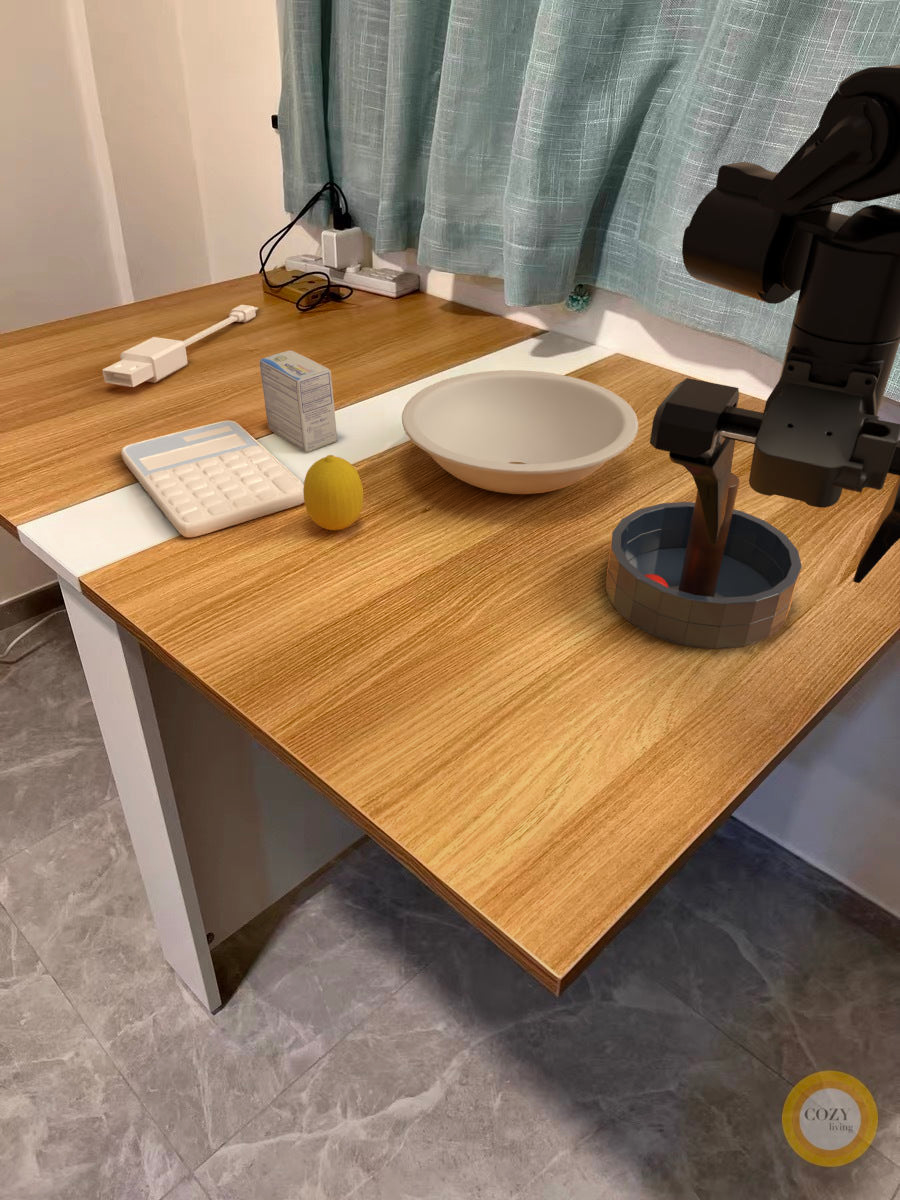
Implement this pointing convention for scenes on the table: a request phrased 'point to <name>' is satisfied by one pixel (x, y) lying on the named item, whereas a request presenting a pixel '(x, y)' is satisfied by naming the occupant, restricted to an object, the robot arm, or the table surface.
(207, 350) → the table surface
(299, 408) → the medicine box
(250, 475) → the calculator
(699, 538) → the brown cylinder
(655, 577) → the tomato
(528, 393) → the soup bowl
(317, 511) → the lemon
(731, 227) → the robot arm
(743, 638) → the bowl
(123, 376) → the charging cable
